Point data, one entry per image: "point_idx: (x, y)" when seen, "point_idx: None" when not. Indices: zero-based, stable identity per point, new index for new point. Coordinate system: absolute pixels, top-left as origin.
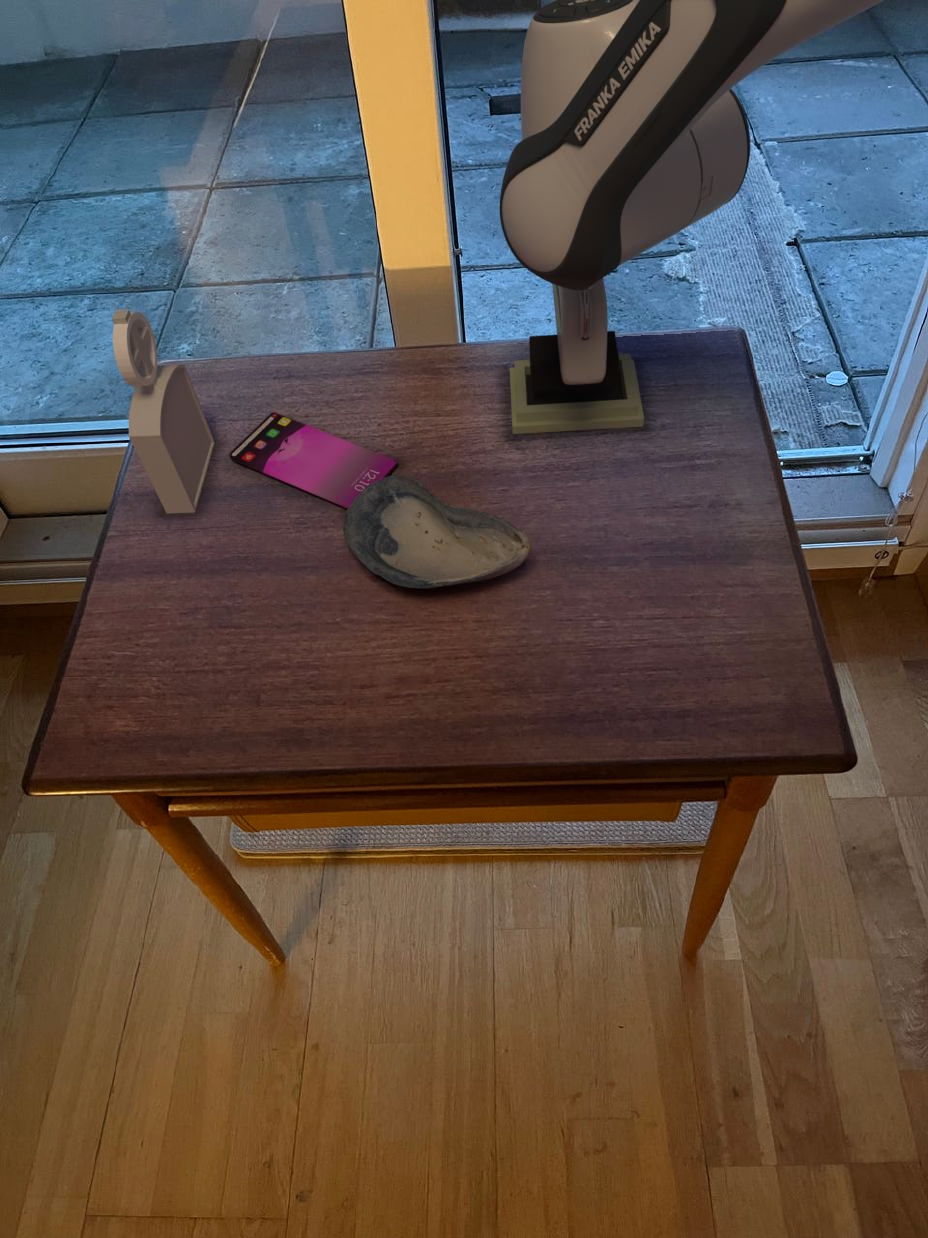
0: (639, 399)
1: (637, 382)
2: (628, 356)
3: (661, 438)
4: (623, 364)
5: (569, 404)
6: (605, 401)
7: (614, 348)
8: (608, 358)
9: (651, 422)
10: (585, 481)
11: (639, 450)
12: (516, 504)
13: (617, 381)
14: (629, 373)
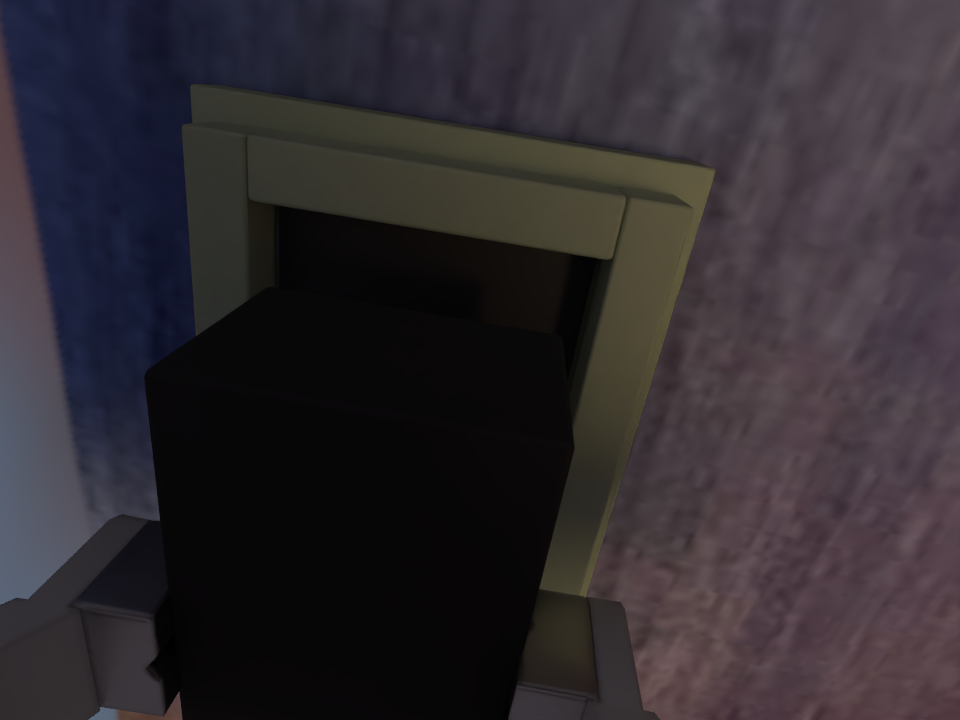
0: (549, 150)
1: (399, 120)
2: (215, 144)
3: (829, 87)
4: (292, 198)
5: (558, 533)
6: (594, 381)
7: (401, 437)
8: (525, 514)
9: (682, 107)
10: (925, 495)
11: (860, 231)
12: (904, 701)
13: (562, 349)
14: (380, 183)
